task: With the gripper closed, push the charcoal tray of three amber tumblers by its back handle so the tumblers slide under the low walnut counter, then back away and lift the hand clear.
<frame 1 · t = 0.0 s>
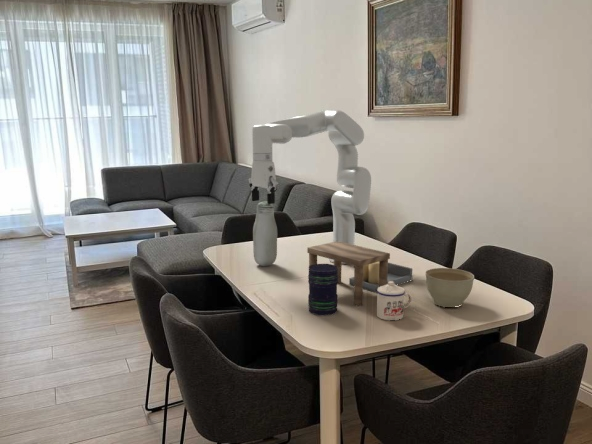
hand: (263, 202, 219), 31 cm above the table, tool pointing down, fingers open, 9 cm apart
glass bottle: (265, 265, 247), on the table
planter bowl: (448, 304, 196), on the table
low counter: (347, 292, 209), on the table
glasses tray: (380, 282, 221), on the table
storage jar: (322, 311, 190), on the table
teacup with lid: (394, 316, 185), on the table
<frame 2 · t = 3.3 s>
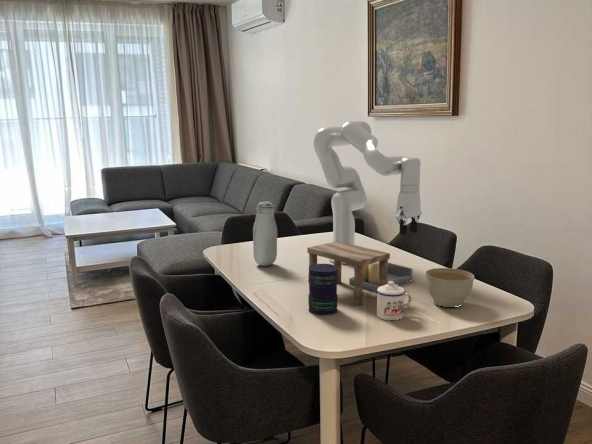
hand: (408, 232, 228), 18 cm above the table, tool pointing down, fingers open, 5 cm apart
nothing on the table moved.
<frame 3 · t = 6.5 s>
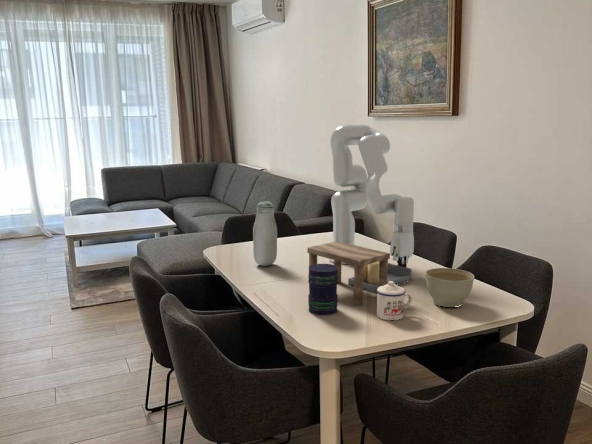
hand: (401, 272, 229), 2 cm above the table, tool pointing down, fingers closed
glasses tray: (380, 282, 221), on the table, touching gripper
everything else where it was.
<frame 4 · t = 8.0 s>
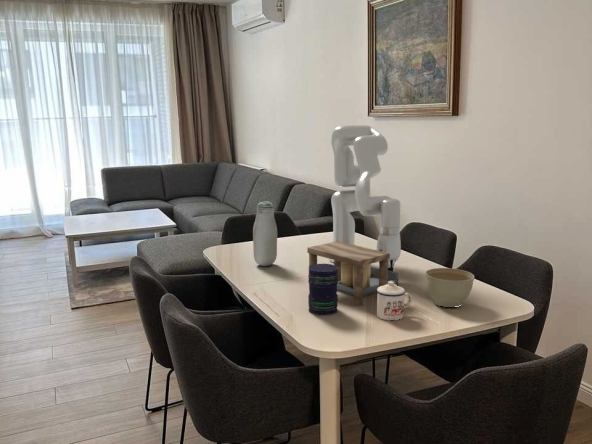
hand: (388, 276, 224), 2 cm above the table, tool pointing down, fingers closed
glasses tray: (366, 287, 215), on the table, touching gripper
everything else where it was.
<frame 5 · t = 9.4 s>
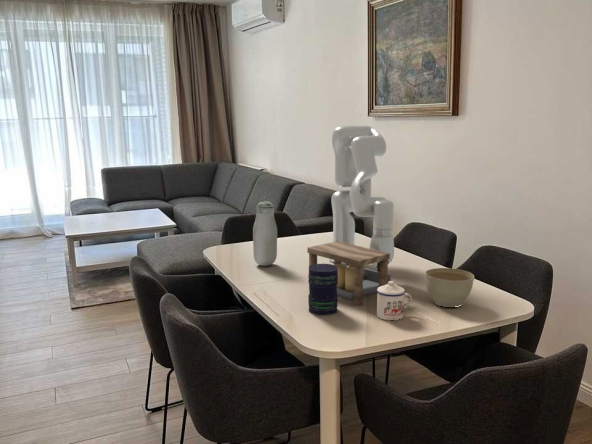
hand: (381, 278, 221), 2 cm above the table, tool pointing down, fingers closed
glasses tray: (358, 289, 213), on the table, touching gripper
everything else where it was.
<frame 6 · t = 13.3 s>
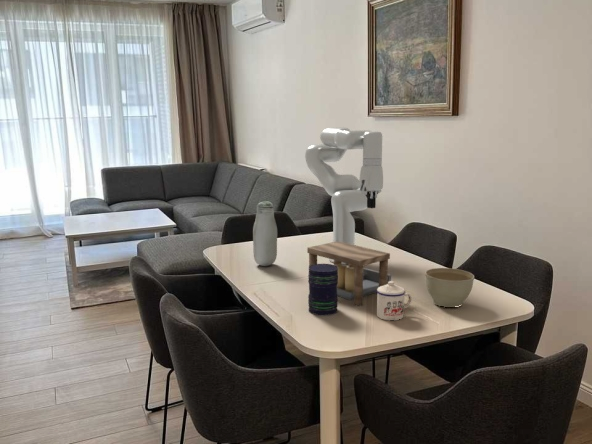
hand: (371, 207, 231), 27 cm above the table, tool pointing down, fingers closed
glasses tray: (358, 289, 213), on the table
everything else where it was.
at the end: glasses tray inside the target area (0.9 cm from its centre), on the table; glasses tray tilted 0°; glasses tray touching table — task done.
